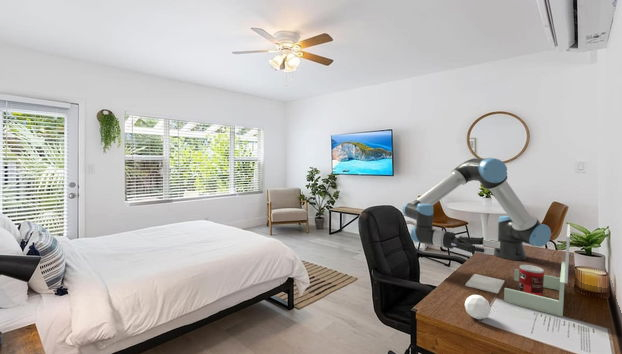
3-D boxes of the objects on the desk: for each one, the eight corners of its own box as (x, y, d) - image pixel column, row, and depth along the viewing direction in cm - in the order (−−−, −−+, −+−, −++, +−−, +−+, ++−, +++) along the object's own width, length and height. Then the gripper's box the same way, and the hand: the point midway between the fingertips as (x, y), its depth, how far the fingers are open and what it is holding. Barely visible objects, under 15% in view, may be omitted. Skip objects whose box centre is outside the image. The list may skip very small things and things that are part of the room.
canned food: (520, 288, 126) (521, 263, 126) (544, 294, 121) (545, 268, 120) (516, 294, 121) (517, 267, 120) (541, 301, 115) (542, 273, 115)
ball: (473, 327, 102) (461, 310, 101) (470, 308, 109) (459, 292, 107) (497, 322, 98) (484, 304, 97) (492, 303, 105) (480, 286, 104)
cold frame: (514, 279, 136) (517, 218, 134) (566, 291, 124) (570, 224, 123) (504, 301, 115) (506, 229, 113) (565, 317, 103) (569, 237, 101)
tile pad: (474, 275, 141) (474, 273, 141) (504, 281, 133) (504, 280, 133) (465, 285, 129) (465, 284, 129) (497, 293, 121) (497, 292, 121)
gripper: (452, 242, 151) (501, 250, 137) (435, 252, 132) (490, 264, 118) (452, 227, 150) (502, 234, 136) (435, 236, 132) (491, 245, 118)
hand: (497, 248), depth 127 cm, fingers open, 13 cm apart
